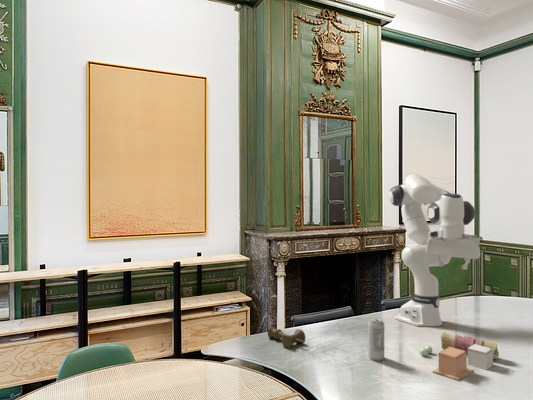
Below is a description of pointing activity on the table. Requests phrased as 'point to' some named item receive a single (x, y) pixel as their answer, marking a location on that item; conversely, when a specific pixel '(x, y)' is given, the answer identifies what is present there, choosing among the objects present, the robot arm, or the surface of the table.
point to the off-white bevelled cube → (480, 356)
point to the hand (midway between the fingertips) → (452, 267)
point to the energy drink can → (376, 339)
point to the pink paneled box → (452, 361)
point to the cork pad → (454, 376)
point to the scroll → (466, 343)
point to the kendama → (287, 336)
